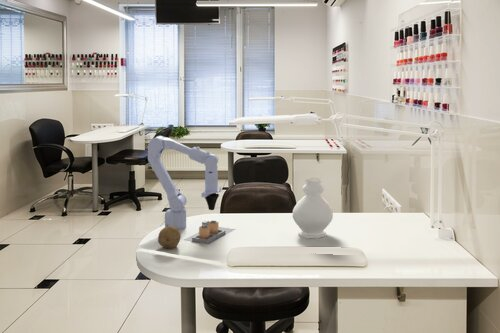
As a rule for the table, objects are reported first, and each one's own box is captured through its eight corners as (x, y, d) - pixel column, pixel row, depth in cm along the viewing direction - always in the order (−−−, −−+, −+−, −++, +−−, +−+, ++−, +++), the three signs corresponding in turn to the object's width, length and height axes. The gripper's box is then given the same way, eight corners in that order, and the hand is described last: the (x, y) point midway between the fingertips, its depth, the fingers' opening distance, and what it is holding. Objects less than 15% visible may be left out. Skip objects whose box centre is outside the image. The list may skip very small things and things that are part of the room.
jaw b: (206, 235, 229) (206, 221, 228) (211, 232, 233) (211, 219, 232) (215, 236, 228) (215, 223, 227) (220, 234, 232) (220, 220, 231)
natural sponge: (167, 255, 208) (166, 230, 206) (153, 250, 214) (153, 226, 212) (185, 249, 214) (184, 226, 212) (171, 245, 220) (170, 222, 218)
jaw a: (197, 240, 222) (197, 226, 221) (202, 237, 226) (202, 224, 225) (206, 242, 220) (206, 227, 219) (211, 239, 224) (211, 225, 223)
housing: (183, 242, 223) (183, 235, 223) (211, 228, 245) (211, 221, 244) (208, 246, 218) (208, 239, 218) (235, 231, 239) (235, 224, 239)
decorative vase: (330, 241, 226) (332, 184, 221) (289, 238, 230) (290, 182, 225) (333, 229, 243) (335, 176, 239) (295, 227, 247) (296, 175, 242)
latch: (202, 230, 236) (202, 222, 236) (205, 229, 239) (205, 220, 238) (205, 231, 236) (205, 222, 235) (209, 229, 238) (209, 221, 238)
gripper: (211, 184, 230) (211, 214, 233) (226, 178, 243) (226, 207, 246) (197, 182, 233) (197, 212, 236) (213, 177, 246) (213, 205, 249)
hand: (211, 209), depth 241 cm, fingers closed
